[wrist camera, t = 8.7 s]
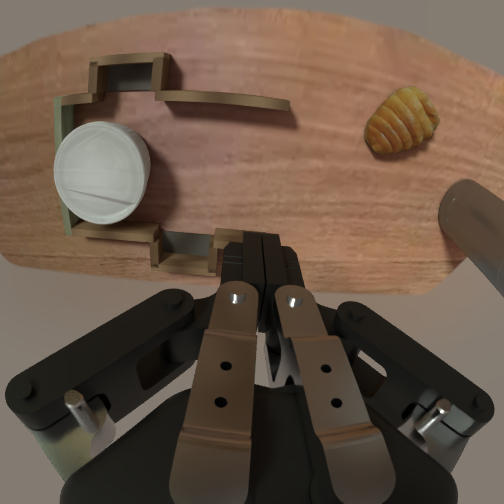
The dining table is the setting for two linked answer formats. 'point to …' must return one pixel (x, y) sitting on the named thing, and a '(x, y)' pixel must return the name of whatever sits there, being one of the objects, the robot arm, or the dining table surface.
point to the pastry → (401, 122)
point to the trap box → (155, 79)
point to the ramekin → (102, 171)
